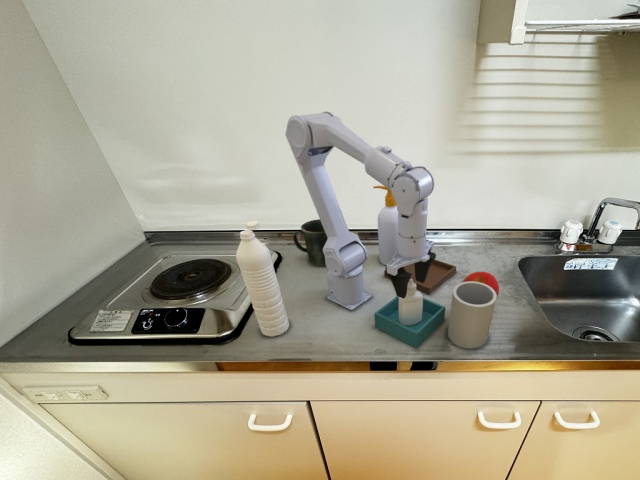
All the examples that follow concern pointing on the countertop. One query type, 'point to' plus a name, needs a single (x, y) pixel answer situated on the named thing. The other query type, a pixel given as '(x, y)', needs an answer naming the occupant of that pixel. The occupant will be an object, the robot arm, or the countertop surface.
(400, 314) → the eye dropper bottle
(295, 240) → the mug
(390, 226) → the soap bottle
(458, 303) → the cup
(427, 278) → the tray
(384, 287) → the countertop surface
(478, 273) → the apple
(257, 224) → the water bottle
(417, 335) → the bin
